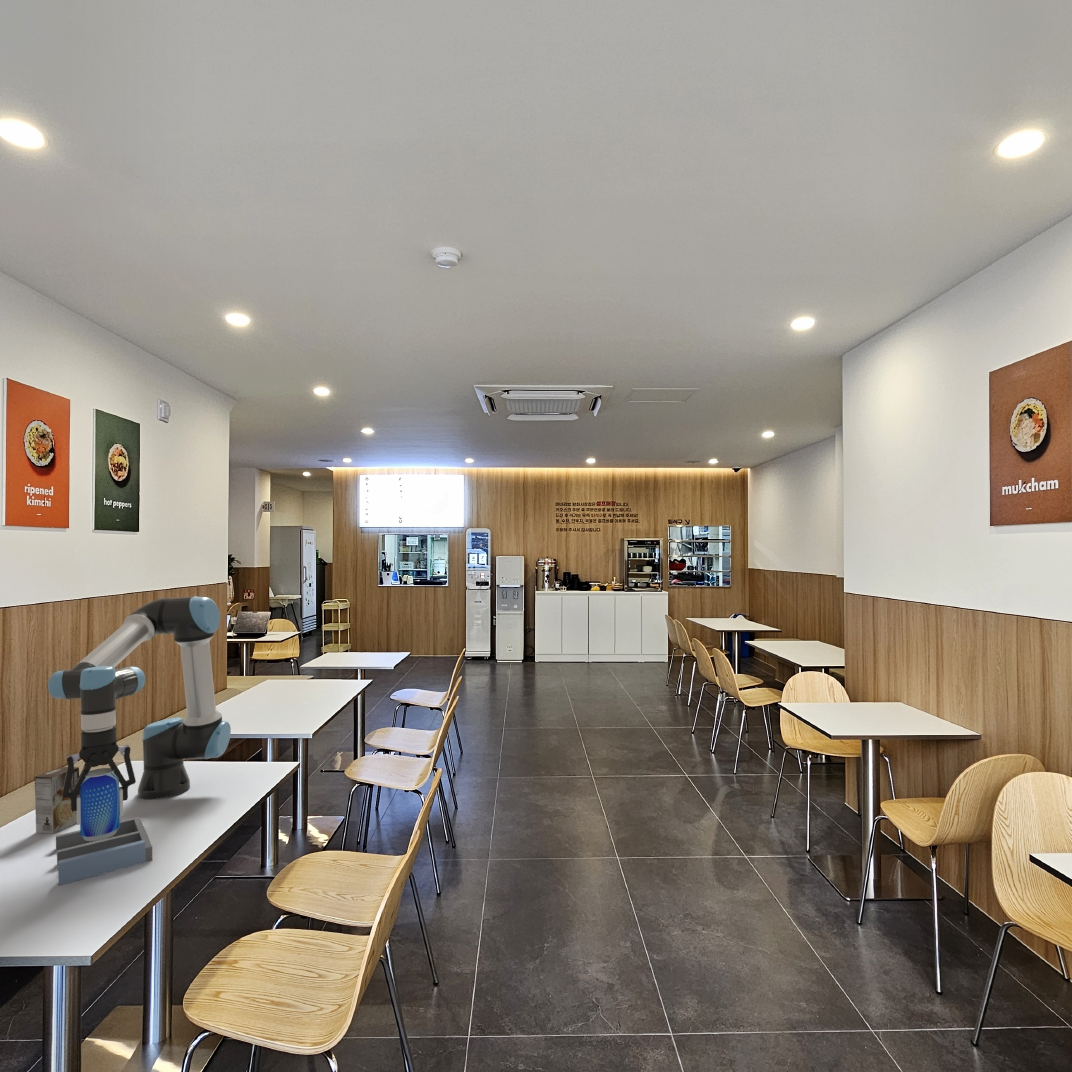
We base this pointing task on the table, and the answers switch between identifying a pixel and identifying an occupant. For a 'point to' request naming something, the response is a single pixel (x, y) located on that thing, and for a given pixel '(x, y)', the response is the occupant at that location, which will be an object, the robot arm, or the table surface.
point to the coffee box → (54, 801)
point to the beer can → (99, 805)
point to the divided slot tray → (102, 852)
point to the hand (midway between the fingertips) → (100, 818)
